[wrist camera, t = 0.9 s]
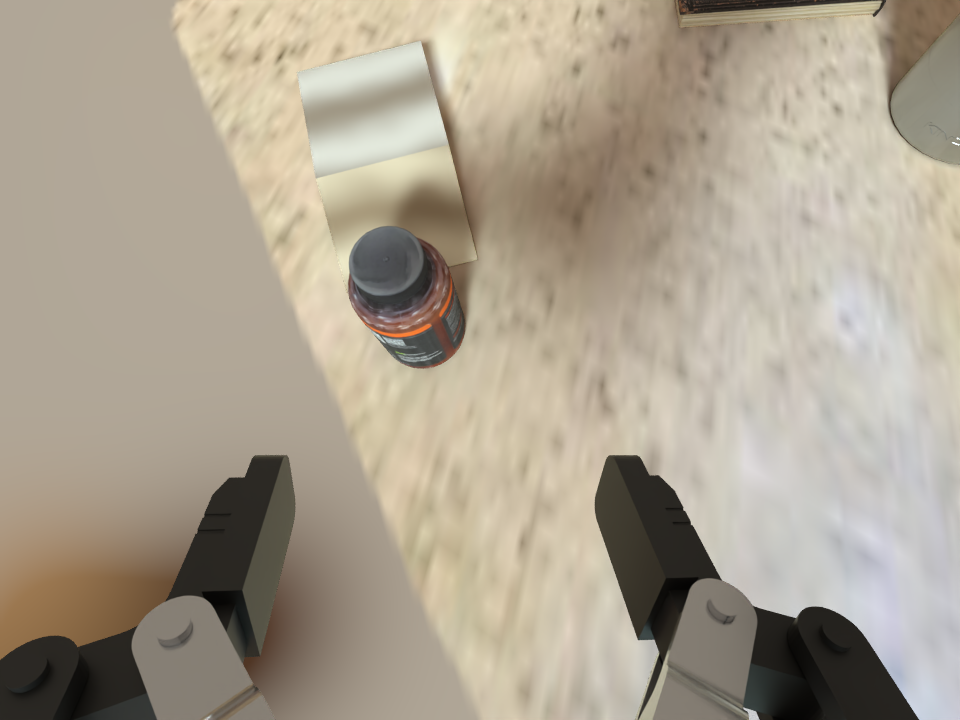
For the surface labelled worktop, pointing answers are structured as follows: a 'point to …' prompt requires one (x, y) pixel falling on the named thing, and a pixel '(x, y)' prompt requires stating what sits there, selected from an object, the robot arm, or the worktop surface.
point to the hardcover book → (768, 10)
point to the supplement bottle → (406, 296)
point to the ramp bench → (383, 152)
